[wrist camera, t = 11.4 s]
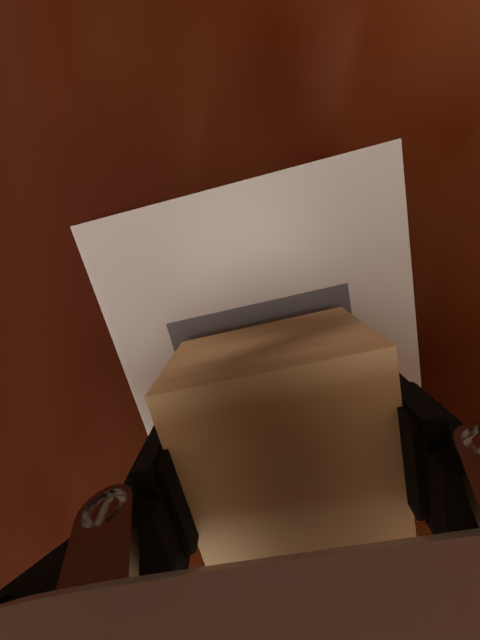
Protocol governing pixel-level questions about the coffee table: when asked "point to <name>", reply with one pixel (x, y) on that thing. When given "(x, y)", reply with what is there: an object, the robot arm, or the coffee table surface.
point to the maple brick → (286, 436)
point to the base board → (257, 260)
